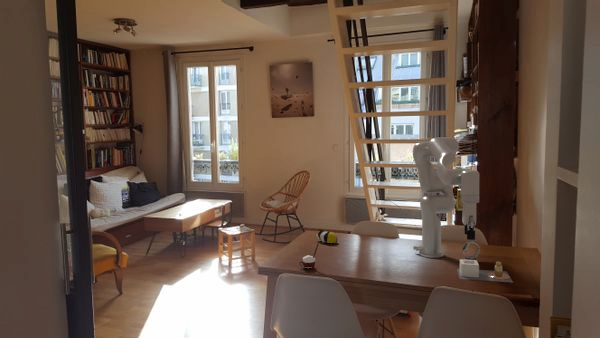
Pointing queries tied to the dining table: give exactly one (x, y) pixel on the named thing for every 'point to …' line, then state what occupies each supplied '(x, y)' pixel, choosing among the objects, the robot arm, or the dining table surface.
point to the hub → (498, 272)
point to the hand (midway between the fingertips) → (469, 236)
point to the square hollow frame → (469, 268)
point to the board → (484, 276)
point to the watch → (466, 247)
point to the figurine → (327, 236)
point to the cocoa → (309, 259)
